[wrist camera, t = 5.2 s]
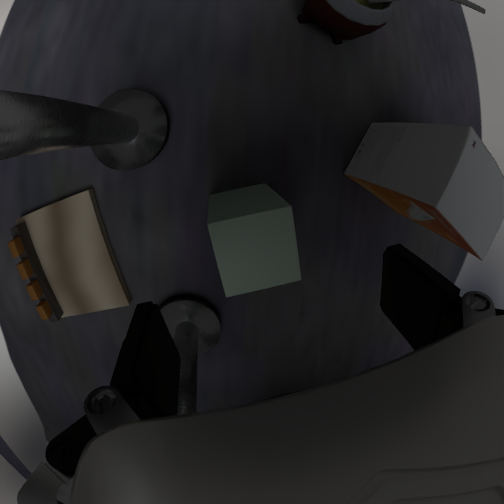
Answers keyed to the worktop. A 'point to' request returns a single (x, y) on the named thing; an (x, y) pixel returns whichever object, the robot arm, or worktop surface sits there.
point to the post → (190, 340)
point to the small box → (434, 179)
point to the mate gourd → (354, 16)
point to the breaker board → (68, 259)
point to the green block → (253, 239)
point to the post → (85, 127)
